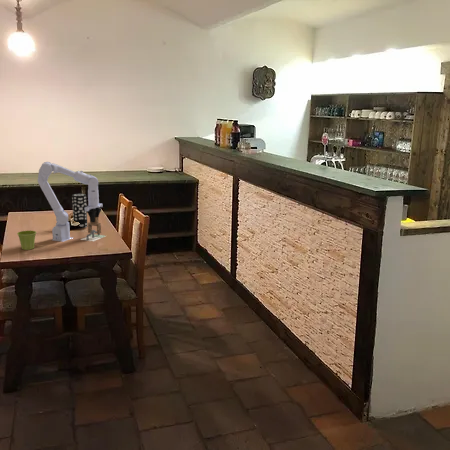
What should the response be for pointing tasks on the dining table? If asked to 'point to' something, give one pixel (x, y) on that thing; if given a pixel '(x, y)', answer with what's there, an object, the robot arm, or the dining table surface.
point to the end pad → (98, 235)
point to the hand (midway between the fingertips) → (94, 221)
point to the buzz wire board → (91, 238)
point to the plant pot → (27, 239)
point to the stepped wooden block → (94, 225)
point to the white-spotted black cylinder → (79, 209)
